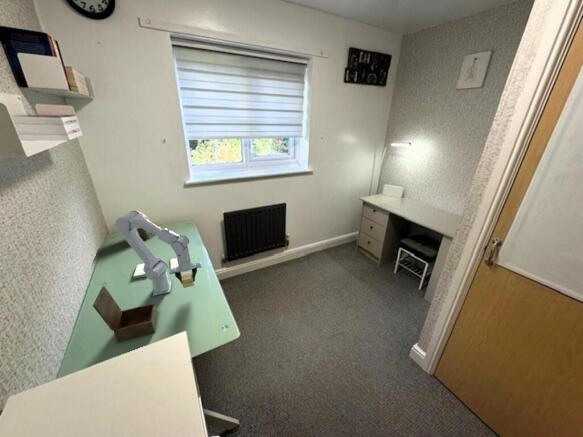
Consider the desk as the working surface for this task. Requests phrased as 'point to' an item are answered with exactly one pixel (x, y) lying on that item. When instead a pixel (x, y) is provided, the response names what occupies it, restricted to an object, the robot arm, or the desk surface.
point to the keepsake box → (136, 322)
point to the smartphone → (173, 263)
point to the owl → (144, 233)
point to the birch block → (187, 280)
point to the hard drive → (139, 271)
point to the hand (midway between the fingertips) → (188, 281)
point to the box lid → (107, 308)
